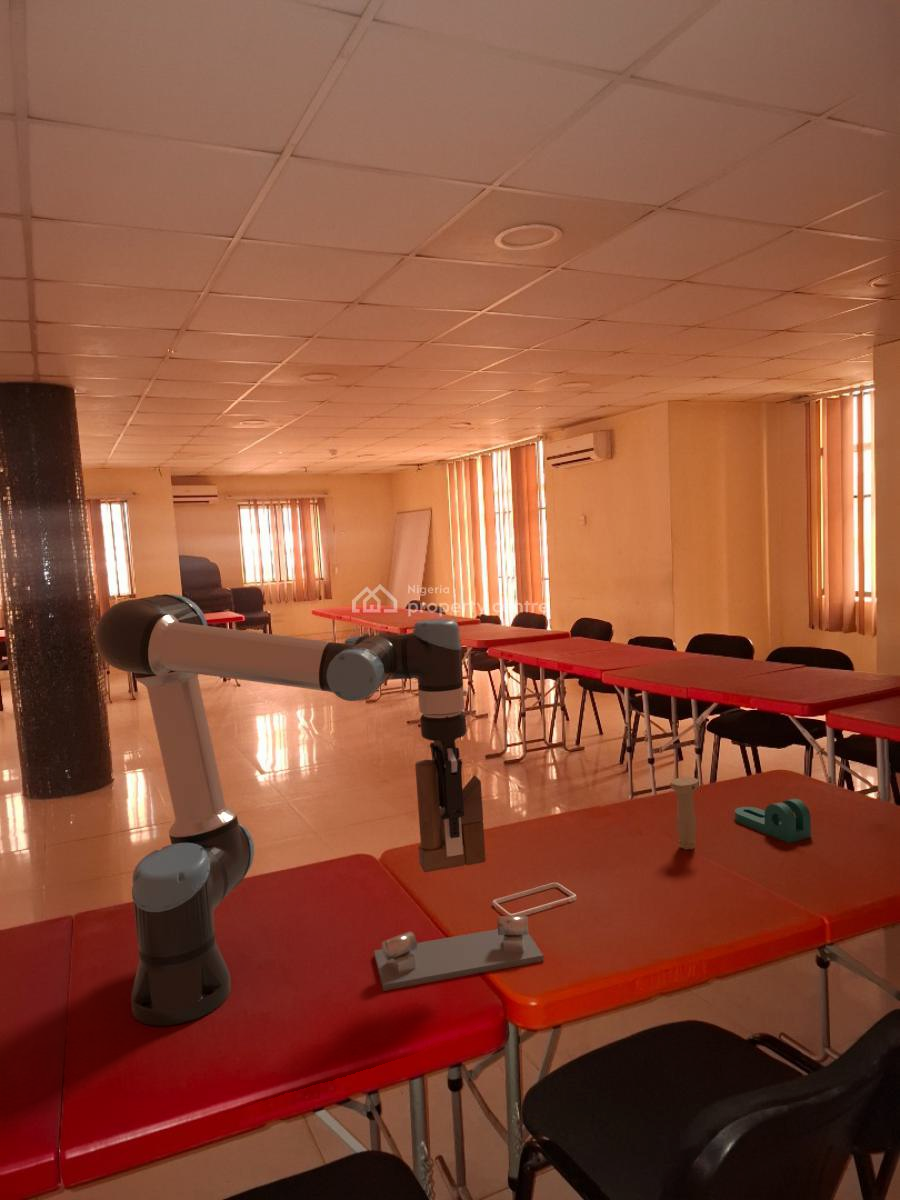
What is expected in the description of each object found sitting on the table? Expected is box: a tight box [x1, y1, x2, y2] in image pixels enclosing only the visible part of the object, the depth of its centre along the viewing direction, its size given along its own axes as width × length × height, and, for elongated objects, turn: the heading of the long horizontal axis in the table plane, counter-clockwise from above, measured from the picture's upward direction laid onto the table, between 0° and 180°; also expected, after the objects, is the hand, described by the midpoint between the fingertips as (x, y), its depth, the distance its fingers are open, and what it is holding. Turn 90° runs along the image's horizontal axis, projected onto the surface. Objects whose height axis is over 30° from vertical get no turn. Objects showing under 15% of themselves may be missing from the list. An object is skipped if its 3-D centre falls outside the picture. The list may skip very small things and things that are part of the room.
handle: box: [670, 776, 700, 851], centre depth 173 cm, size 5×6×15 cm
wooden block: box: [414, 759, 487, 873], centre depth 131 cm, size 4×11×18 cm, turn 105°
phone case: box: [492, 882, 577, 916], centre depth 152 cm, size 7×1×15 cm
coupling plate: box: [373, 928, 545, 992], centre depth 133 cm, size 27×11×1 cm, turn 103°
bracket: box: [734, 798, 812, 844], centre depth 182 cm, size 18×7×8 cm, turn 24°
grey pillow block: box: [381, 930, 418, 975], centre depth 130 cm, size 5×4×5 cm
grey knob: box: [497, 915, 529, 952], centre depth 134 cm, size 5×4×5 cm
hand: (451, 849), depth 132 cm, fingers closed on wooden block, 4 cm apart
